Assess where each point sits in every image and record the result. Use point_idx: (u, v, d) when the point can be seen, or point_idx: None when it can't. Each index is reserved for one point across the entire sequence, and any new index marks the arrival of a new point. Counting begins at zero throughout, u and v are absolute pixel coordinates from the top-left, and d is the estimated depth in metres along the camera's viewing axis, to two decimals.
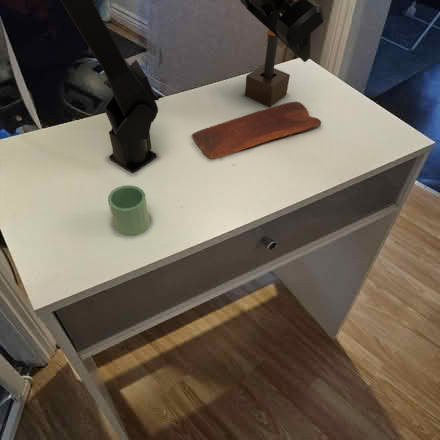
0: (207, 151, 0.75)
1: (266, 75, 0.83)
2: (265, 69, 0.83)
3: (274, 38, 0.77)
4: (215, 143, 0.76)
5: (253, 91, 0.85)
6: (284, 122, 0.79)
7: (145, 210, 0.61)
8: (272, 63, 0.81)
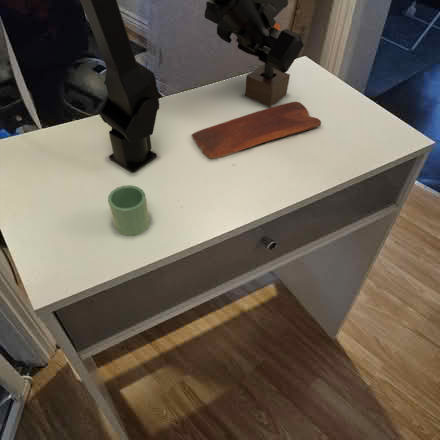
0: (207, 151, 0.75)
1: (266, 75, 0.83)
2: (265, 69, 0.83)
3: None
4: (215, 143, 0.76)
5: (253, 91, 0.85)
6: (284, 122, 0.79)
7: (145, 210, 0.61)
8: None
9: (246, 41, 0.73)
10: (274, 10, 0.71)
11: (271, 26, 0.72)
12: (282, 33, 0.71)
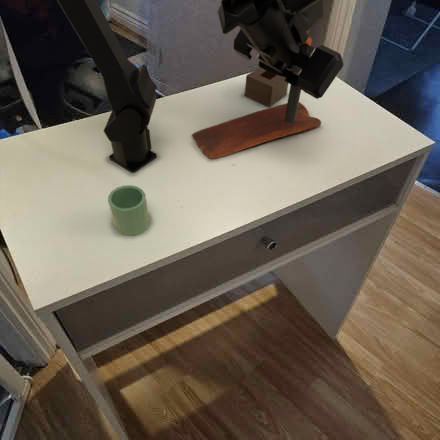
0: (207, 151, 0.75)
1: (292, 98, 0.70)
2: (291, 91, 0.69)
3: None
4: (215, 143, 0.76)
5: (253, 91, 0.85)
6: (284, 122, 0.79)
7: (145, 210, 0.61)
8: None
9: (272, 60, 0.59)
10: (307, 22, 0.57)
11: (303, 41, 0.58)
12: (317, 50, 0.57)
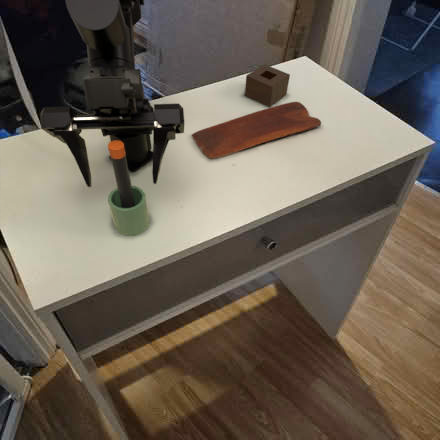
0: (207, 151, 0.75)
1: None
2: None
3: None
4: (215, 143, 0.76)
5: (253, 91, 0.85)
6: (284, 122, 0.79)
7: (145, 210, 0.61)
8: None
9: None
10: None
11: None
12: (67, 107, 0.52)
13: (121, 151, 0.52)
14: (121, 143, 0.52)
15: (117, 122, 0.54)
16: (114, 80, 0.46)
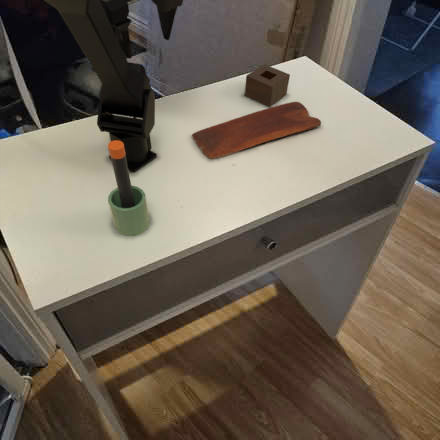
0: (207, 151, 0.75)
1: None
2: None
3: None
4: (215, 143, 0.76)
5: (253, 91, 0.85)
6: (284, 122, 0.79)
7: (145, 210, 0.61)
8: None
9: None
10: None
11: None
12: None
13: (121, 151, 0.52)
14: (121, 143, 0.52)
15: None
16: None
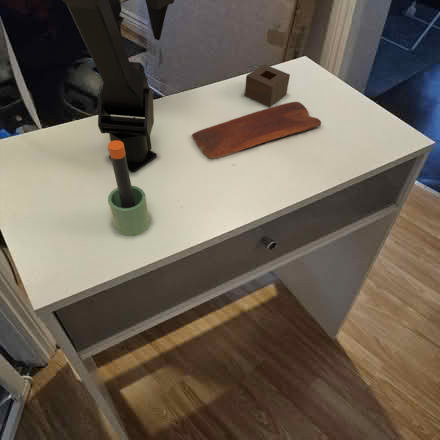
0: (207, 151, 0.75)
1: None
2: None
3: None
4: (215, 143, 0.76)
5: (253, 91, 0.85)
6: (284, 122, 0.79)
7: (145, 210, 0.61)
8: None
9: None
10: None
11: None
12: None
13: (121, 151, 0.52)
14: (121, 143, 0.52)
15: None
16: None
